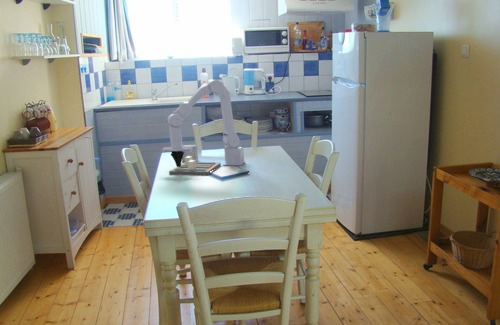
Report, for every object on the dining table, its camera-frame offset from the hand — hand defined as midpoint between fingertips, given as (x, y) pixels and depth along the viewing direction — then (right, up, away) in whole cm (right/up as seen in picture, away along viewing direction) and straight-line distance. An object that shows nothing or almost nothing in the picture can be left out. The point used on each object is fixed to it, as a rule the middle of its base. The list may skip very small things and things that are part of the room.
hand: (178, 166), depth 224 cm
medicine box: (+3, +2, +21) cm, 21 cm away
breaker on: (+4, +1, +7) cm, 8 cm away
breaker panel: (+8, -2, +2) cm, 9 cm away
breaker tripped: (+7, -1, -2) cm, 7 cm away
